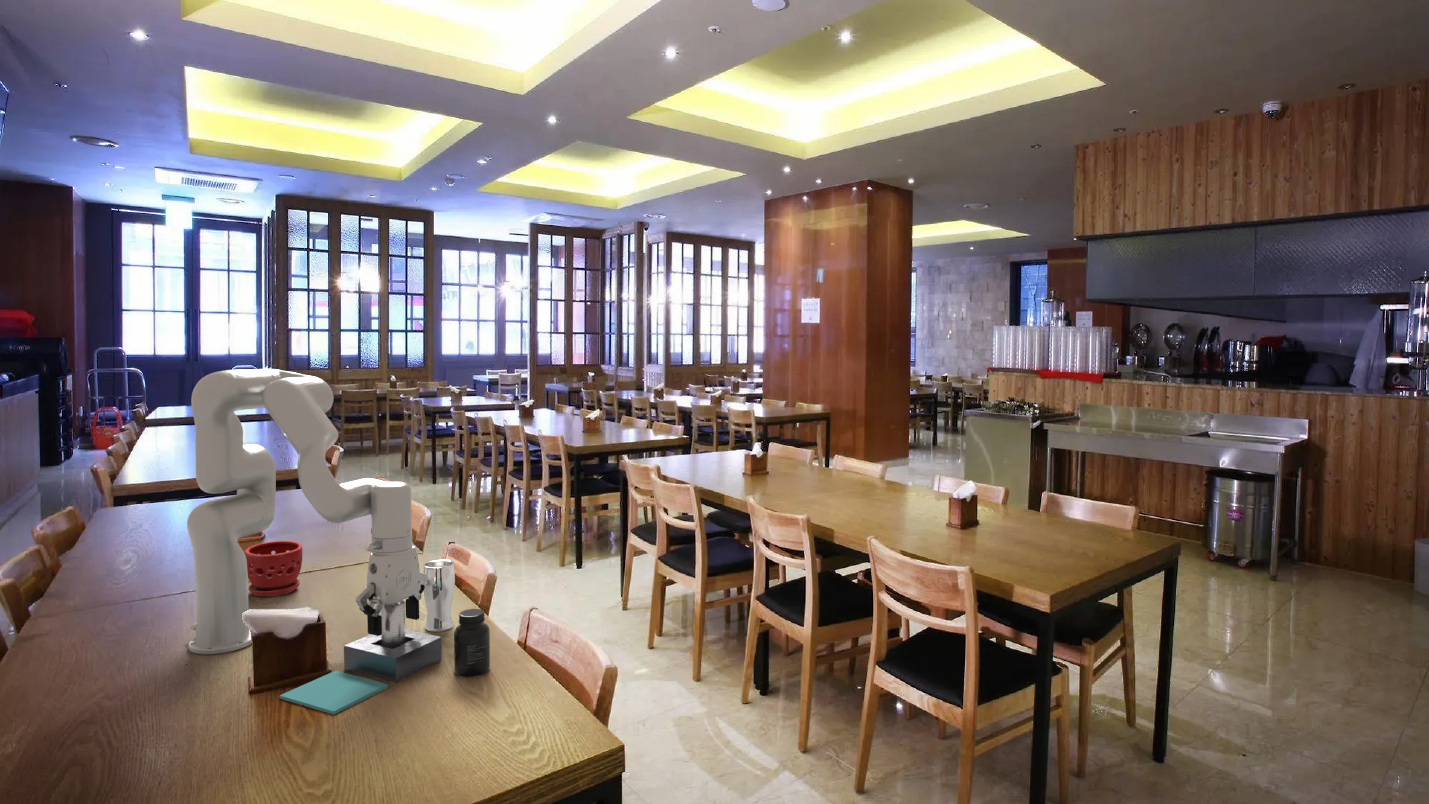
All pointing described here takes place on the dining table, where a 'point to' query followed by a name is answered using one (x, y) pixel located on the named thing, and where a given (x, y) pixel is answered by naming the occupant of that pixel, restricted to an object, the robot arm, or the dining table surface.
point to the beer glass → (439, 594)
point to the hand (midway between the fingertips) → (394, 626)
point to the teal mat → (334, 692)
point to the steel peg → (393, 624)
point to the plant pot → (274, 567)
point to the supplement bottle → (471, 644)
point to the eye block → (392, 656)
